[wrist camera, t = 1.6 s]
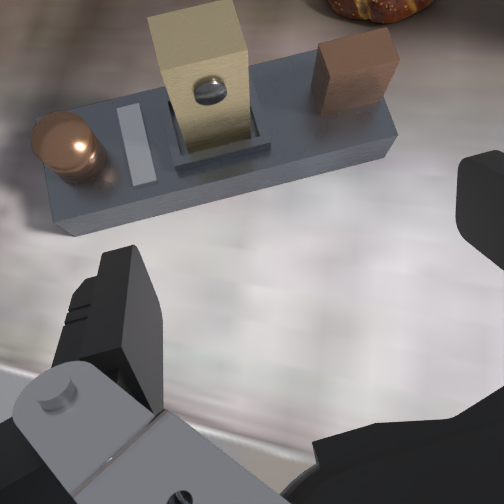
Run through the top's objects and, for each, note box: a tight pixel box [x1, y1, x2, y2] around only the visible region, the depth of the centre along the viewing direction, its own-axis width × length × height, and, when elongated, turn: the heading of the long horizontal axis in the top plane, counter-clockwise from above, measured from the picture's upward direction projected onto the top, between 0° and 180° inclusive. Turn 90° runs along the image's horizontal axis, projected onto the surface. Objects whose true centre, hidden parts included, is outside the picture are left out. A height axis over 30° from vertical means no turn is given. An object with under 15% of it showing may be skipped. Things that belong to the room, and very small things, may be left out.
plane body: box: [31, 27, 400, 237], centre depth 30 cm, size 24×8×8 cm, turn 105°
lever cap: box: [147, 0, 251, 154], centre depth 26 cm, size 4×4×9 cm
